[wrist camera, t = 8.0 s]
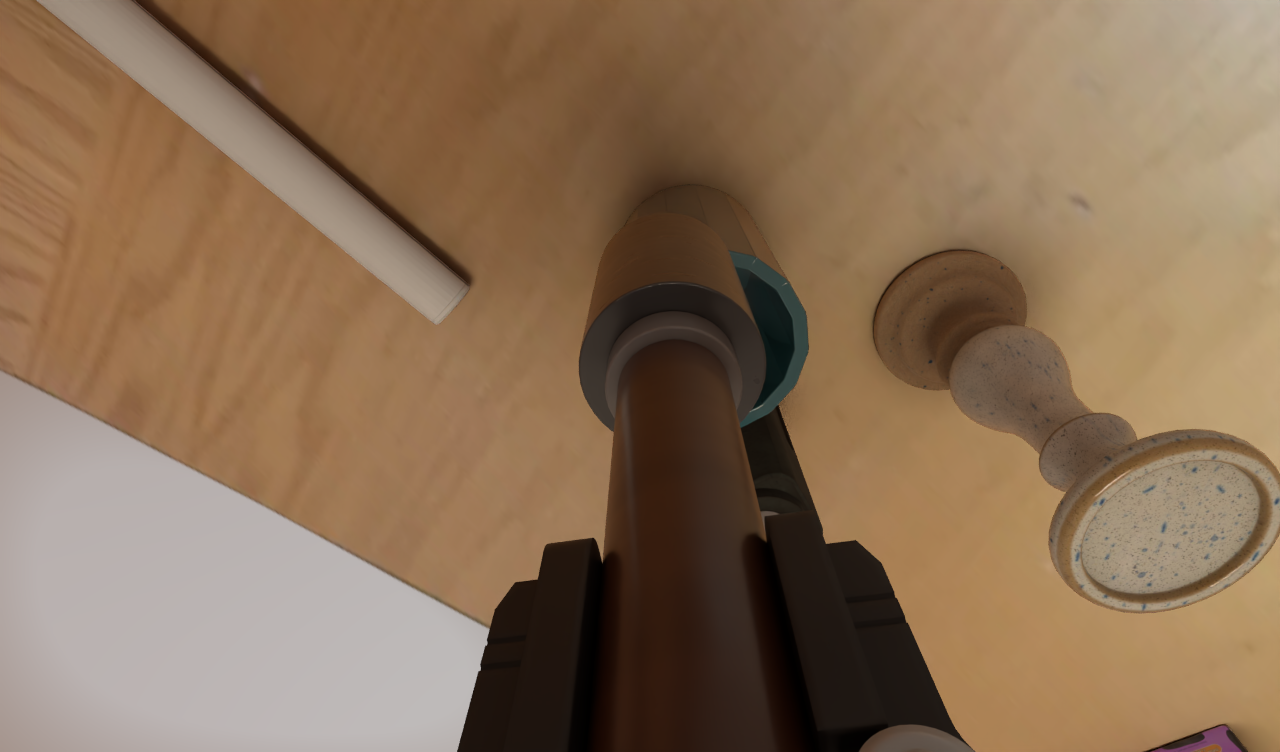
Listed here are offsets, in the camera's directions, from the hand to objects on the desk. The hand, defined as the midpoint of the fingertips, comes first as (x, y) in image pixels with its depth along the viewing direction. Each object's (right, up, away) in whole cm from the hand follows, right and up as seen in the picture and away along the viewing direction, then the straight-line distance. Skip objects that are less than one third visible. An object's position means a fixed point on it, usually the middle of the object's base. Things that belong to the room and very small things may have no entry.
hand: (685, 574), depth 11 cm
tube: (-20, +16, +27) cm, 38 cm away
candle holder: (+18, +7, +32) cm, 37 cm away
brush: (0, +6, +13) cm, 14 cm away
